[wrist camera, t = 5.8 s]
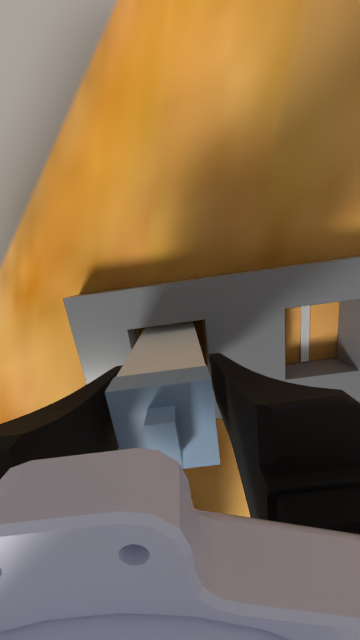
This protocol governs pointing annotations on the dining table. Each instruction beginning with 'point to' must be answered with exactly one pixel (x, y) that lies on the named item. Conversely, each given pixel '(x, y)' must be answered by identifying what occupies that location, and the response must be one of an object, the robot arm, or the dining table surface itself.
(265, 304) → the socket strip
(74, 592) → the robot arm
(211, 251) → the dining table surface
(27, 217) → the dining table surface
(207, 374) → the plug
